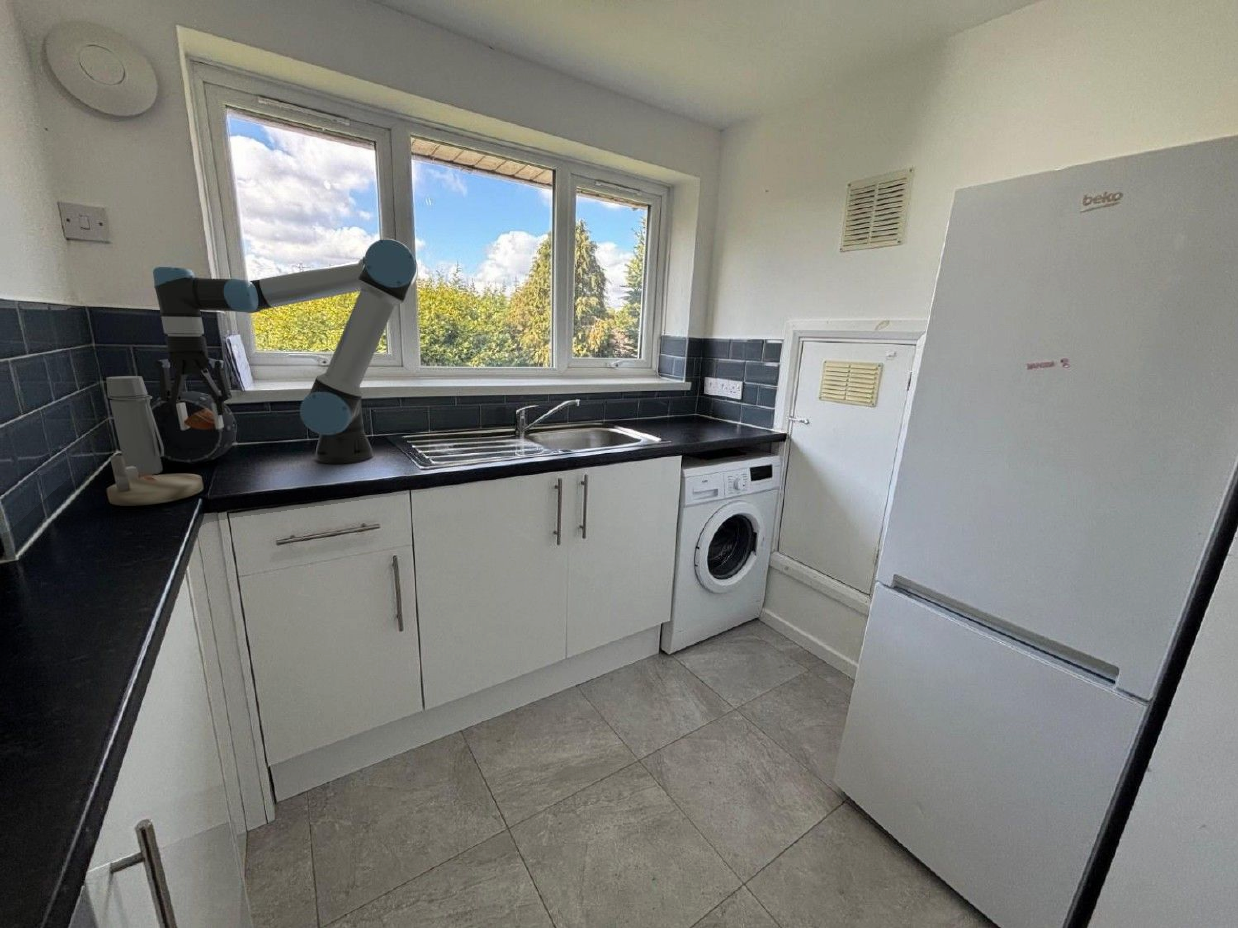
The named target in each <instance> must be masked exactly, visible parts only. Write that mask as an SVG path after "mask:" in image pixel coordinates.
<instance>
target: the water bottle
mask: <svg viewBox="0 0 1238 928" xmlns="http://www.w3.org/2000/svg"><path fill="white" fill-rule="evenodd" d="M106 388H107V389H106V391H107V395H106V396H107V398H109V399H110V400H109V405H110V408H111V412H112V413H111V414H112V416H113V417H112V418H113V421H114V426H115V431H116V435H117V439H118V445H119V448H120V453H121V456H123V458H124V462H125V467H129V466H134V467H137V470H138V474H139V475H141V474H148V473H149V474H151V475H152V476H154V475H156V474H157V475H160V474H161V473H162V472H163V463H162V459H161V457H165V456H164V446H163V443H162V440H161V437H160V434H159V431H158V428H157V425H156V422H155V419H154V416H153V413H152V410H151V399H153V396H151V395H149V394H148V390H147V387H146V385H145V382H144V379H143V376H139V375H125V376H122V375H121V376H119V375H118V376H109V377H106ZM153 424H154V425H153ZM154 427H155V429H154ZM155 431H156V434H157V437H158V440H159V443H160V446H161V454H160V453H159V449H158V444H157V439H156V434H155Z"/></svg>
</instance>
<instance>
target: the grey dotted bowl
mask: <svg viewBox="0 0 1238 928" xmlns="http://www.w3.org/2000/svg"><path fill="white" fill-rule="evenodd" d="M181 400H182V402H180V403H185V405H186V410H187V415H188V418H189V417H190V416H191V415H193V414H194V413H196V412H199V411H201V410H203V409H205V408H208V409H209V410H211V411H212V412H213V410H212V405H211V403H214V402H215V401H214V400H213V398H212V396H211V395H210V394H207V393H204V392H200V391H183V393H182V398H181ZM150 407H151V410H152V413H153V416H154V419H155V422H156V425H157V428H158V431H159V434H160V437H161V440H162V443H163V446H164V456H163V457H165V458H166V459H168V460H169V461H170V462H179V463H182V464H190V465H197V464H202V463H205V462H209V461H213V460H215V459H216V458H219V457H221V456H222V455H224V454H225V453H226V452H227V451H229V449H230V448H231V447H232V445H234V442H235V440H236V437H237V433H238V426H237V420H236V418H235V415H234V414H233V412H232V411H231V409H230V408H229V406H227V404H226V403H224V407H225V415H222V419H223V424H224V427H223V428H220V429H216V427H214V428H211V429H207V430H202V429H196V428H193V427H190V428H189V429H186V430H181V427H180V422H179V417H178V416H174V413H173V408H172V404H171V403H170V402H166V401H162V400H161V398H160V397H158V398H157V399H156V401H154V402H153V403H152V404H150ZM153 425H154V424H153ZM154 429H155V427H154ZM155 434H156V431H155ZM156 439H157V444H158V449H159V454H160V455H161V446H160V443H159V440H158V437H157V434H156Z"/></svg>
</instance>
